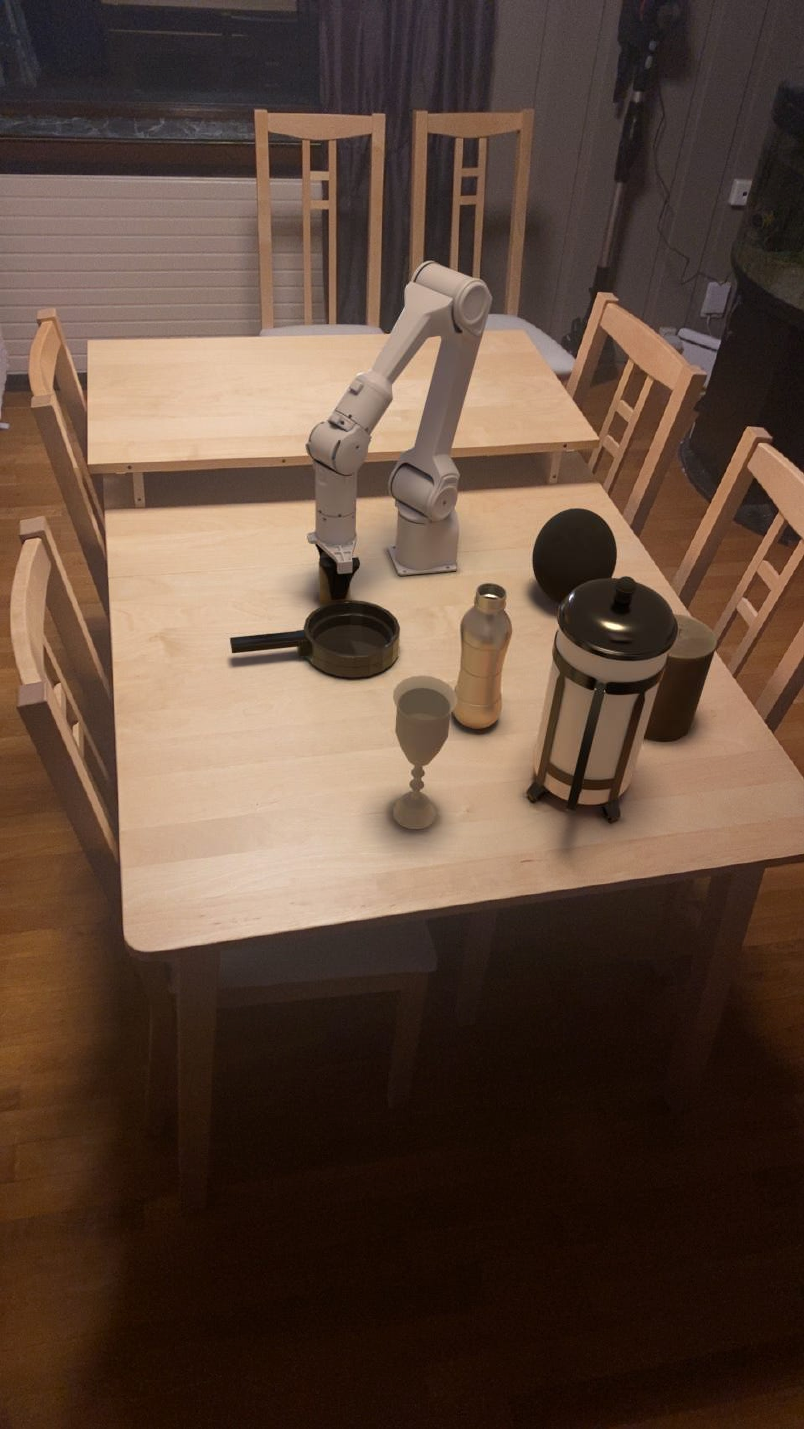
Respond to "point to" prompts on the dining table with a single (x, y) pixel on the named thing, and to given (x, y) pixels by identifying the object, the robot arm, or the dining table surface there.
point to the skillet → (352, 638)
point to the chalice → (420, 740)
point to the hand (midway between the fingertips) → (334, 588)
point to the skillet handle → (270, 642)
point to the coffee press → (601, 691)
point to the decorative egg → (573, 552)
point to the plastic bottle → (482, 658)
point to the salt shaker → (326, 586)
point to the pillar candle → (682, 680)
